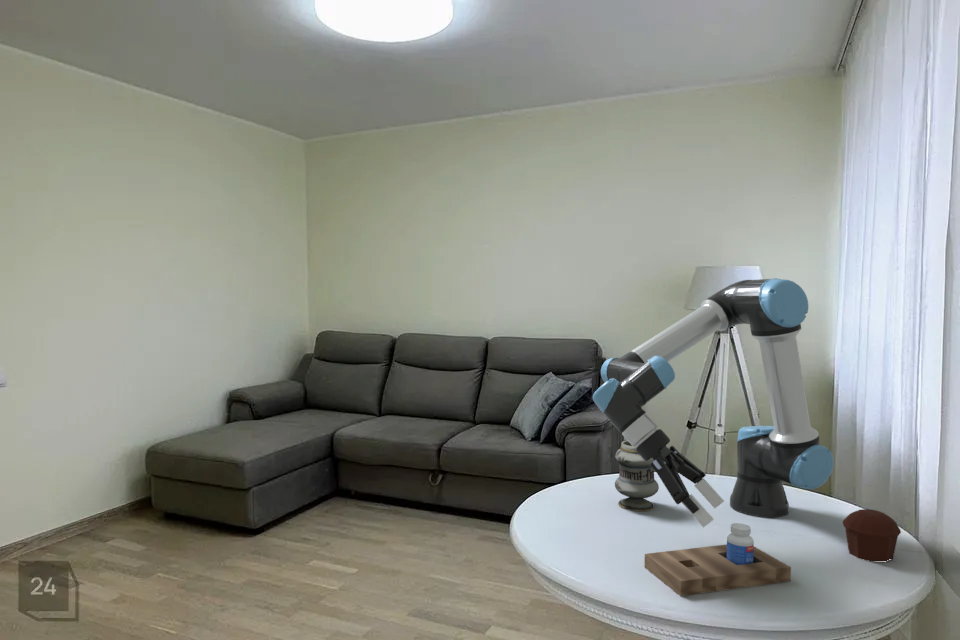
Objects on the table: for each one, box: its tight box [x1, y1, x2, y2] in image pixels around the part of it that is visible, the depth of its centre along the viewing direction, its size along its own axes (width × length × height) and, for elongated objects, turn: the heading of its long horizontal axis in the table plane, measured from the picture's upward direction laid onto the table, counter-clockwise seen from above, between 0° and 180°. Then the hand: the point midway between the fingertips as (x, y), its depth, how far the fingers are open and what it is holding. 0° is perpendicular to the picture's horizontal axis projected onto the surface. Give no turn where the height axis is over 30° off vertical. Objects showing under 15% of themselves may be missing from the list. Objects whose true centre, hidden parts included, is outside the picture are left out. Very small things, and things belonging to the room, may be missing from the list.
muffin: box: [842, 508, 902, 562], centre depth 149 cm, size 12×11×10 cm
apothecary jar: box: [614, 440, 660, 512], centre depth 183 cm, size 12×12×18 cm
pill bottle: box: [726, 522, 755, 565], centre depth 140 cm, size 6×5×10 cm
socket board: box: [644, 544, 792, 597], centre depth 138 cm, size 26×14×3 cm, turn 105°
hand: (714, 513), depth 141 cm, fingers open, 13 cm apart
